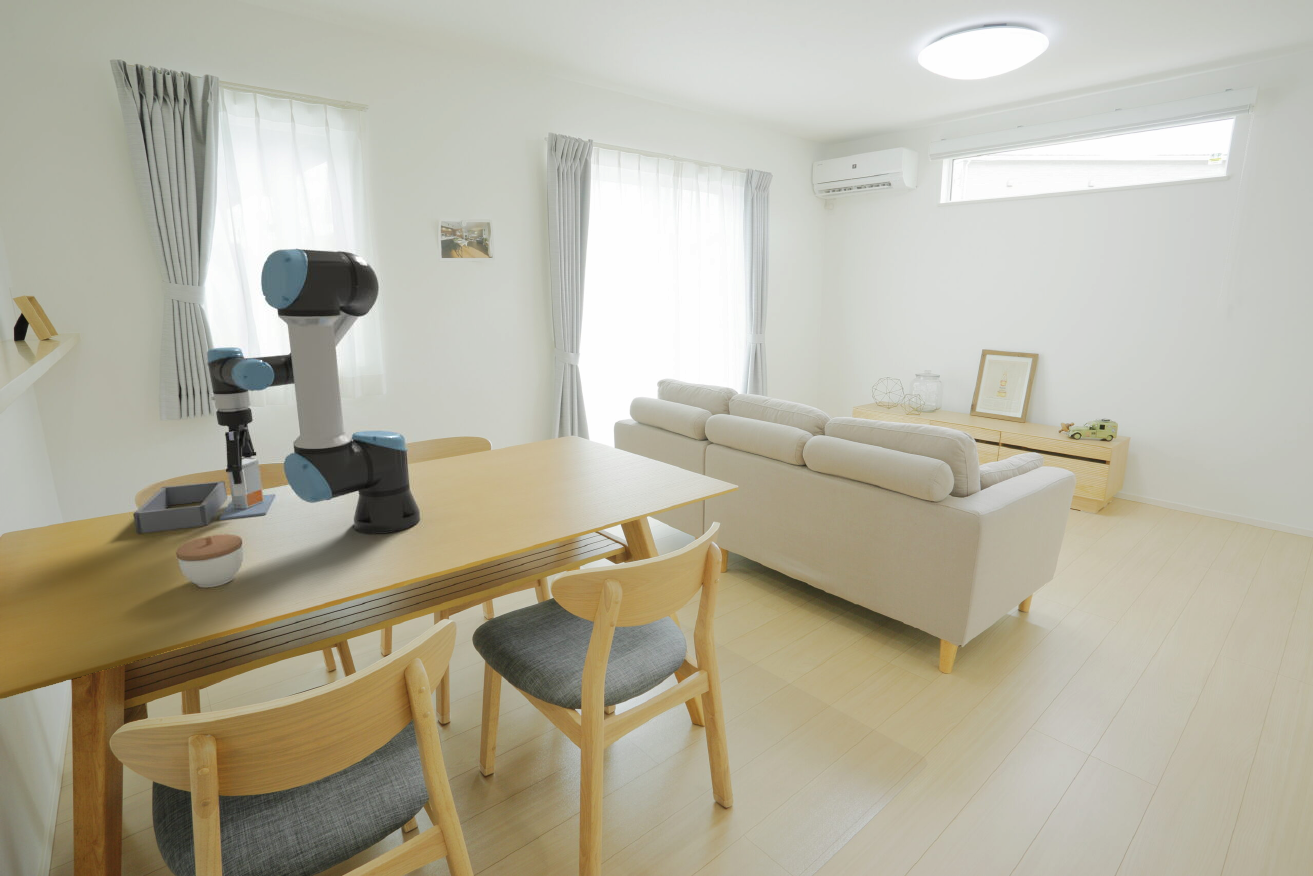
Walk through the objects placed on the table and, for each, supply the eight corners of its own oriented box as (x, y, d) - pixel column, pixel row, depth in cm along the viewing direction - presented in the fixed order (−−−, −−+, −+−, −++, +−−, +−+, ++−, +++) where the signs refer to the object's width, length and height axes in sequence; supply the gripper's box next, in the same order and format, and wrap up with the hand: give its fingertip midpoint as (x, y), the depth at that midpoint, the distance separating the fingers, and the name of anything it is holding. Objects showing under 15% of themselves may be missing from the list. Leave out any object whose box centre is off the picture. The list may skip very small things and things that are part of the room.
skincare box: (246, 509, 164) (239, 465, 161) (232, 508, 165) (225, 464, 162) (265, 501, 170) (258, 459, 167) (251, 500, 171) (244, 458, 168)
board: (265, 514, 162) (265, 512, 162) (219, 520, 158) (219, 517, 158) (275, 496, 176) (275, 494, 176) (233, 500, 173) (233, 498, 172)
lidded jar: (204, 569, 131) (196, 527, 128) (258, 568, 132) (251, 526, 129) (169, 594, 120) (160, 548, 118) (228, 592, 121) (220, 547, 119)
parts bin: (207, 525, 155) (204, 506, 154) (137, 533, 149) (133, 513, 148) (227, 498, 174) (224, 480, 173) (165, 504, 169) (162, 486, 168)
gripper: (227, 401, 171) (239, 476, 176) (203, 419, 148) (218, 504, 153) (259, 399, 174) (269, 473, 179) (240, 416, 151) (253, 500, 156)
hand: (245, 487), depth 166 cm, fingers open, 13 cm apart
